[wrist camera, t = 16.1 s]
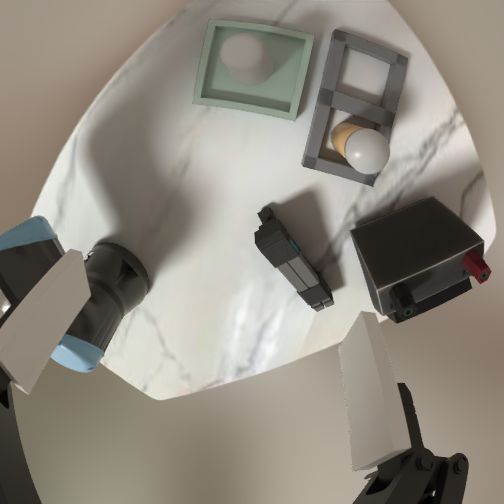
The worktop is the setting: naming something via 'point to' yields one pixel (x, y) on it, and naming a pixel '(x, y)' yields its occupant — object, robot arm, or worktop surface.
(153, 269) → the worktop surface
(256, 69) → the salt shaker
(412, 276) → the voltmeter
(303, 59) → the tray
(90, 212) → the worktop surface
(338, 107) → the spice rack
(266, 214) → the gun
